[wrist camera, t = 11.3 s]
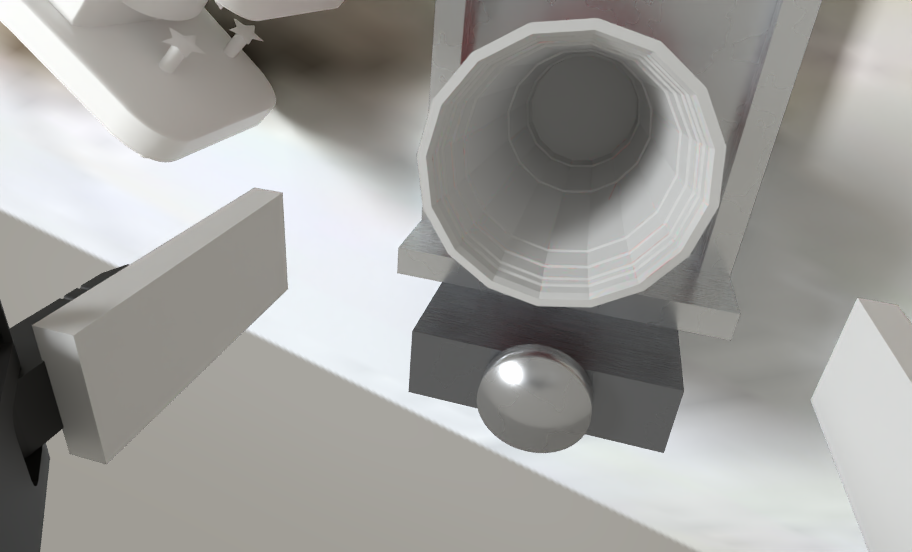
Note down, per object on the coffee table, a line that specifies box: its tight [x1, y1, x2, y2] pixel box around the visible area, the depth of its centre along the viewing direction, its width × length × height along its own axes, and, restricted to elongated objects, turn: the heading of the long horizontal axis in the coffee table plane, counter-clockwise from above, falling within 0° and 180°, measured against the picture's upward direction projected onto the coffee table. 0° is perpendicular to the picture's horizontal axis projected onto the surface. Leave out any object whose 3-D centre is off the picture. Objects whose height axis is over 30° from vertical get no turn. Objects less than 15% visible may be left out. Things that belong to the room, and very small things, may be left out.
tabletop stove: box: [397, 0, 822, 453], centre depth 28 cm, size 22×17×12 cm
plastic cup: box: [417, 18, 726, 307], centre depth 27 cm, size 11×11×12 cm
